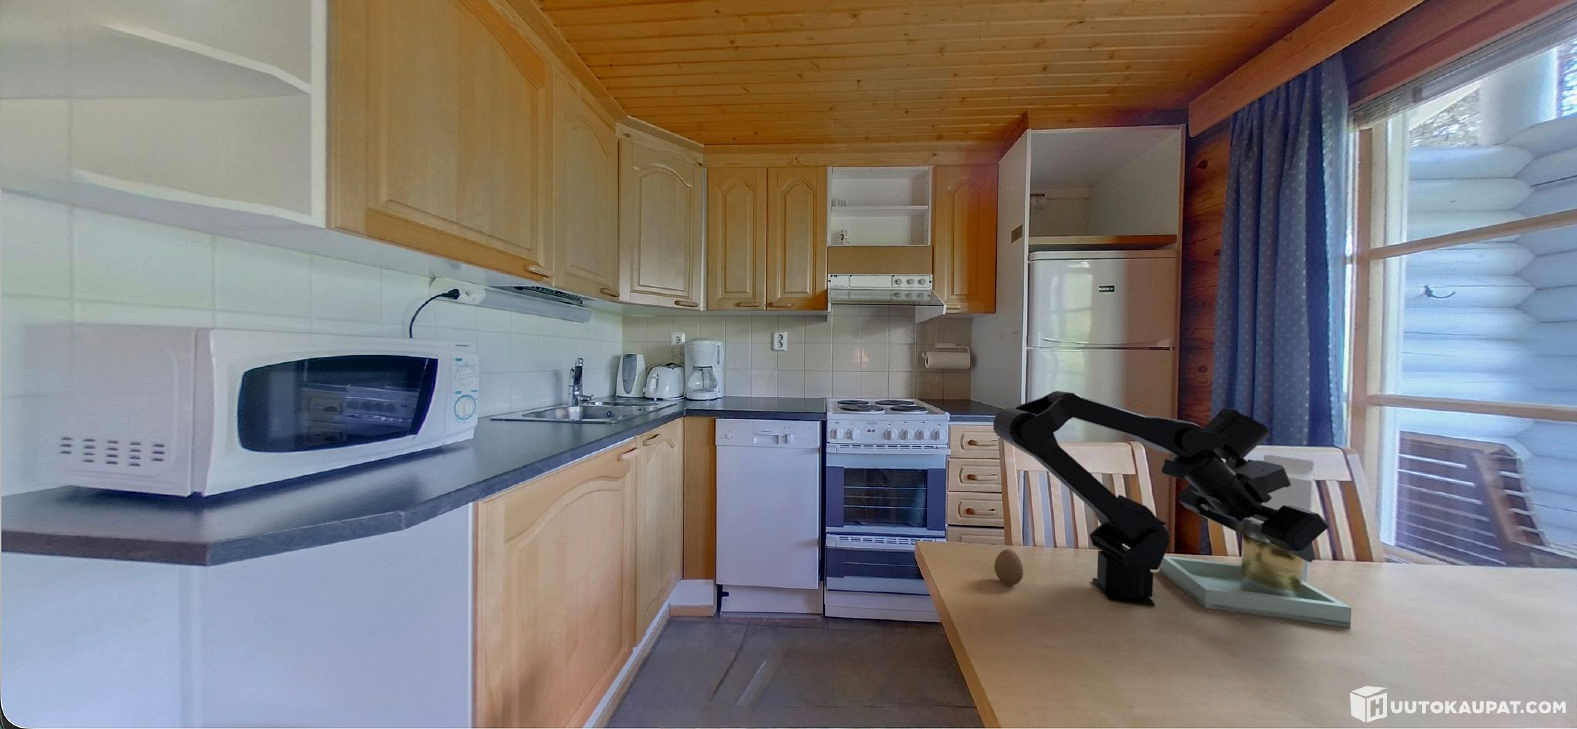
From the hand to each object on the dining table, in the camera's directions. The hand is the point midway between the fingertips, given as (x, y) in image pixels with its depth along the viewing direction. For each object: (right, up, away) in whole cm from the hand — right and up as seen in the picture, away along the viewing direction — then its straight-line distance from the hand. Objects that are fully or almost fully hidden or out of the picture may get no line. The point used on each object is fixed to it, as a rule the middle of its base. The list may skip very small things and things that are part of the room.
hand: (1278, 546), depth 70 cm
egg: (-43, -8, +4) cm, 44 cm away
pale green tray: (-4, -9, +1) cm, 10 cm away
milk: (+11, -9, +9) cm, 17 cm away
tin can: (-1, -8, 0) cm, 8 cm away
